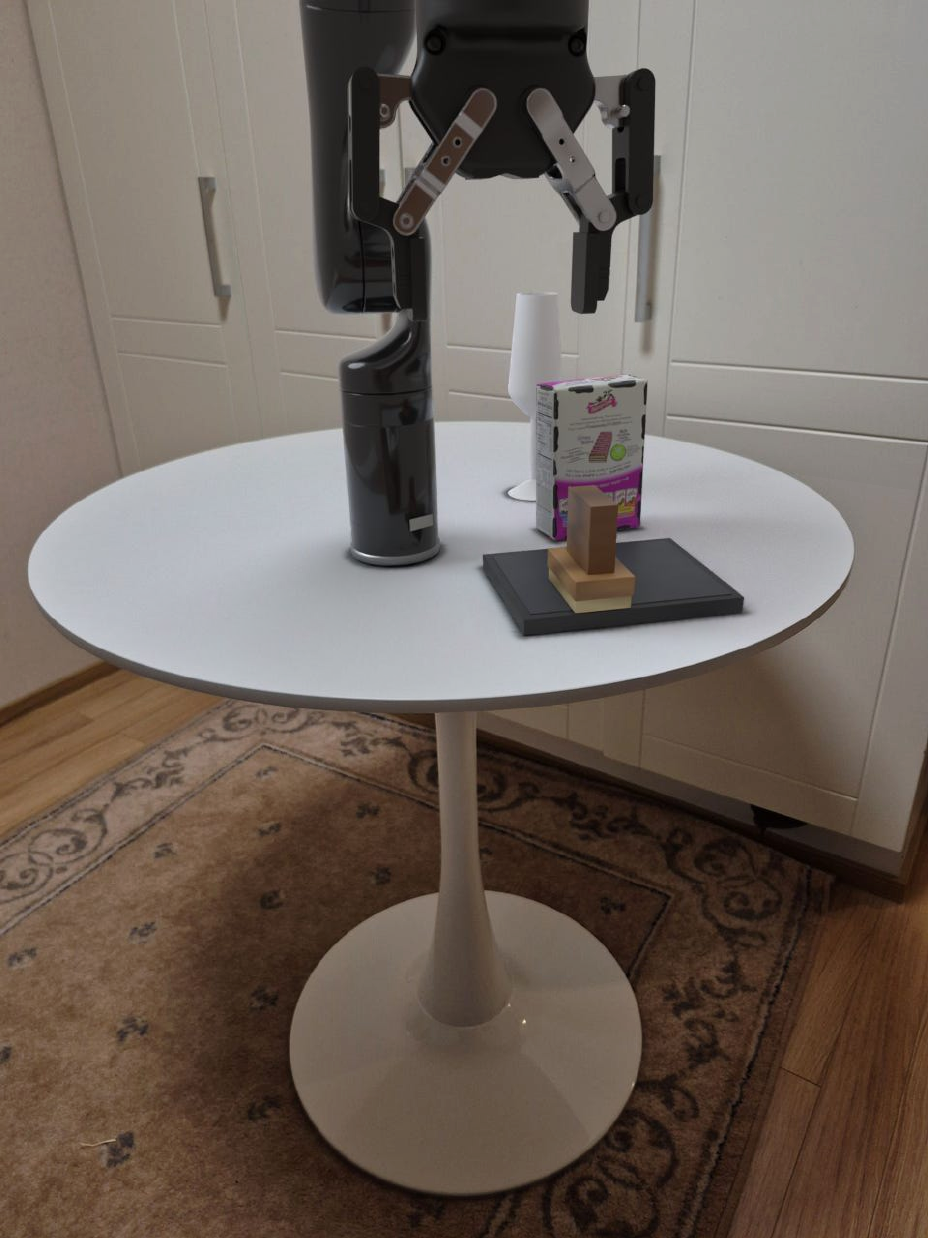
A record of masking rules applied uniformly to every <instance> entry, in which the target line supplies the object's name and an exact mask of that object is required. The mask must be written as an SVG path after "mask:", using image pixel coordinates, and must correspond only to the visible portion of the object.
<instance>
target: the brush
mask: <svg viewBox="0 0 928 1238" xmlns="http://www.w3.org/2000/svg"><path fill="white" fill-rule="evenodd" d="M617 519H618V504H617V503H616V502H614V501H613V500H612V499H611V498H609V497H608V496H607V495H606V494H605V493H603V492H602V491H601V490H600V489H599V488H597V487H596V486H595V485H588V486H575V487H568V517H567V539H566V546H558V547H548V548H547V549H548V560H547V566H548V567H549V580H550V581H551V582H552V584H553V585H554V586H555V587H556V589H557V590H558V591H559V593H560V594H561V595H562V597H563V598H564V599H565V600H566V602H567V603H568V604H569V606H570V607H571V608H572V610H573V611H574V612H575V613H584V612H594V611H604V610H614V609H623V608H631V599H632V596H634V586H635V576H634V575H633V574H632V573H631V572H630V571H629V570H628V569H627V568H626V567H625V566H624V565H623V564H622V563H621V562H620V561H619V560H618V559H617V558H616V557H615V553H616V543H617V534H618V530H617Z"/></svg>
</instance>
